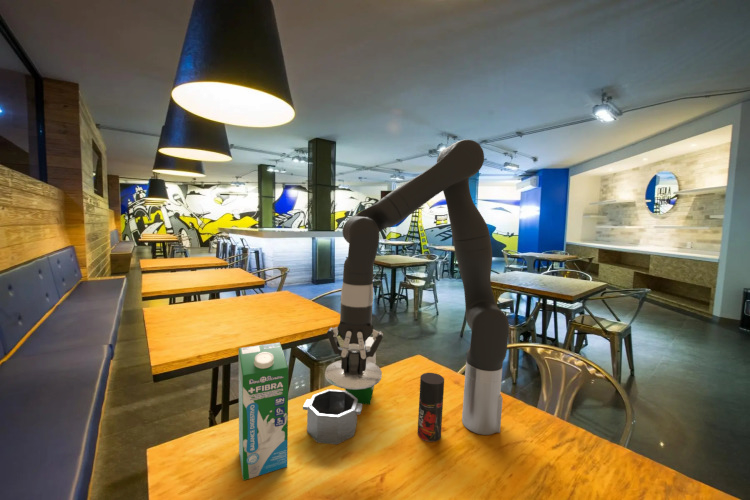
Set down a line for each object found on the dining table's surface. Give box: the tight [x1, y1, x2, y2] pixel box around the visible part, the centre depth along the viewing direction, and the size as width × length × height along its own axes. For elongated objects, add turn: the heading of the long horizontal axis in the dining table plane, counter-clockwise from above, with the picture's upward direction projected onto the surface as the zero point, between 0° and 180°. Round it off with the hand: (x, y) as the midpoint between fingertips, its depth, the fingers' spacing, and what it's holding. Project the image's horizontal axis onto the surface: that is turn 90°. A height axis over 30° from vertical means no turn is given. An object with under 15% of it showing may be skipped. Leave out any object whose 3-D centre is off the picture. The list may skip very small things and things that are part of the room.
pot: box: [302, 388, 363, 445], centre depth 84 cm, size 15×12×7 cm
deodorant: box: [417, 372, 445, 443], centre depth 82 cm, size 6×6×15 cm
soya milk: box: [344, 336, 377, 405], centre depth 98 cm, size 9×9×20 cm
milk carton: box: [238, 342, 289, 481], centre depth 71 cm, size 9×9×25 cm
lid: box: [324, 349, 383, 390], centre depth 78 cm, size 14×14×6 cm
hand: (353, 370), depth 78 cm, fingers closed on lid, 3 cm apart
